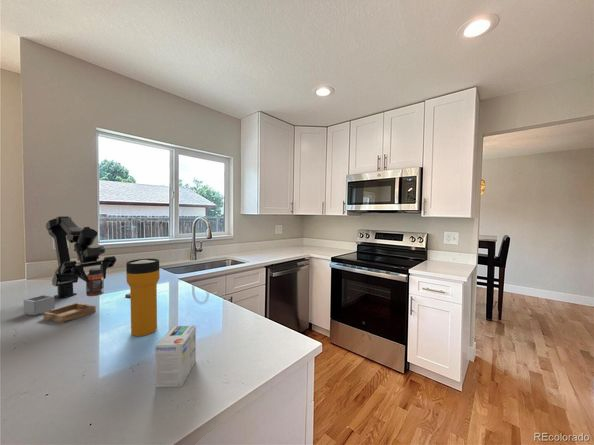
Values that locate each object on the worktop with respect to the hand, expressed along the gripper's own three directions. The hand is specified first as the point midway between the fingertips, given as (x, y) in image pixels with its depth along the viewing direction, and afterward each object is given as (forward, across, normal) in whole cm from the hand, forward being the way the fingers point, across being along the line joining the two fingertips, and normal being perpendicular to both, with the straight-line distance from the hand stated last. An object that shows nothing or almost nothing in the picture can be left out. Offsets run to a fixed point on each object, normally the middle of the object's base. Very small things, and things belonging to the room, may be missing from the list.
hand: (96, 280), depth 108 cm
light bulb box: (+58, -8, -40) cm, 71 cm away
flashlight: (+36, 0, -18) cm, 40 cm away
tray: (+8, -8, +11) cm, 16 cm away
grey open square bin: (-3, -14, +22) cm, 26 cm away
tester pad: (+6, +18, +12) cm, 23 cm away
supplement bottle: (+4, 0, +6) cm, 7 cm away
